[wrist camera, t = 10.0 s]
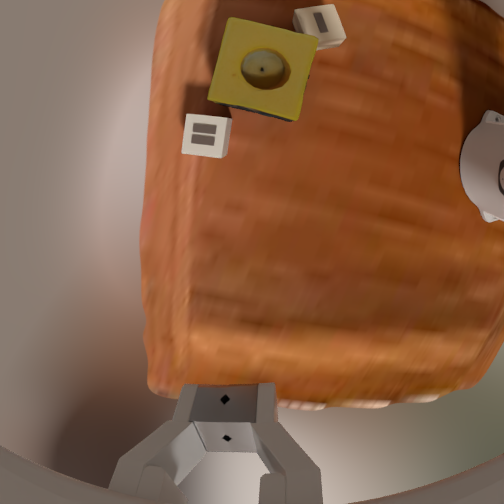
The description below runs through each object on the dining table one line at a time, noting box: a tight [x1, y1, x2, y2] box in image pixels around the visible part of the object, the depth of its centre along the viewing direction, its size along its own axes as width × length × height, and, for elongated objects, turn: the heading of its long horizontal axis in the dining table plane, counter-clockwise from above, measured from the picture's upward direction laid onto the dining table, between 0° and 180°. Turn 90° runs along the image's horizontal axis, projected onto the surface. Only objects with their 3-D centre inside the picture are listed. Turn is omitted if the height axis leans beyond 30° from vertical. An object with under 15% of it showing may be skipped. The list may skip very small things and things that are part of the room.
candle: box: [207, 17, 319, 122], centre depth 31 cm, size 10×10×10 cm
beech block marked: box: [292, 4, 346, 50], centre depth 30 cm, size 5×5×5 cm
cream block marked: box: [182, 114, 232, 158], centre depth 37 cm, size 5×5×5 cm
